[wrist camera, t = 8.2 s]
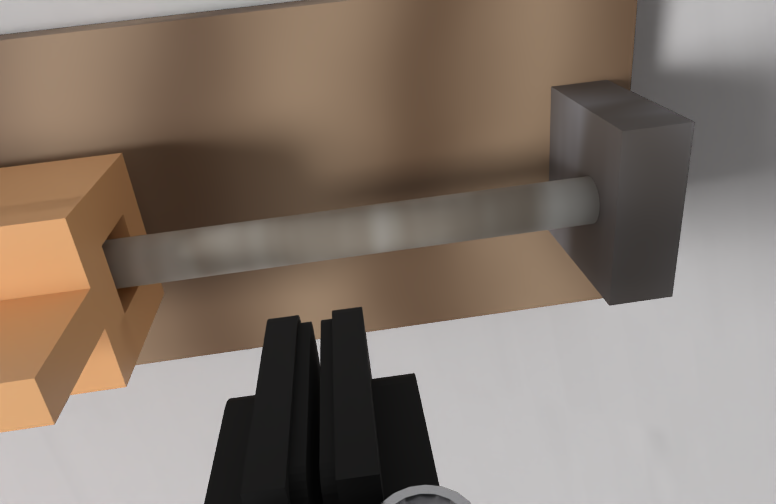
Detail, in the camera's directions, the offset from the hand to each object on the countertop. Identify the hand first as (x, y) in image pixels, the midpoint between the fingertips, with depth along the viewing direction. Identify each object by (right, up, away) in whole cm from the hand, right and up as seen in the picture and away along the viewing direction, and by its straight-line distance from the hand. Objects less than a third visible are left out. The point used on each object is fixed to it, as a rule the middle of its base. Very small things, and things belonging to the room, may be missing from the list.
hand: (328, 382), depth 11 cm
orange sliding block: (-8, +3, +6) cm, 10 cm away
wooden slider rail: (-4, +4, +8) cm, 10 cm away
